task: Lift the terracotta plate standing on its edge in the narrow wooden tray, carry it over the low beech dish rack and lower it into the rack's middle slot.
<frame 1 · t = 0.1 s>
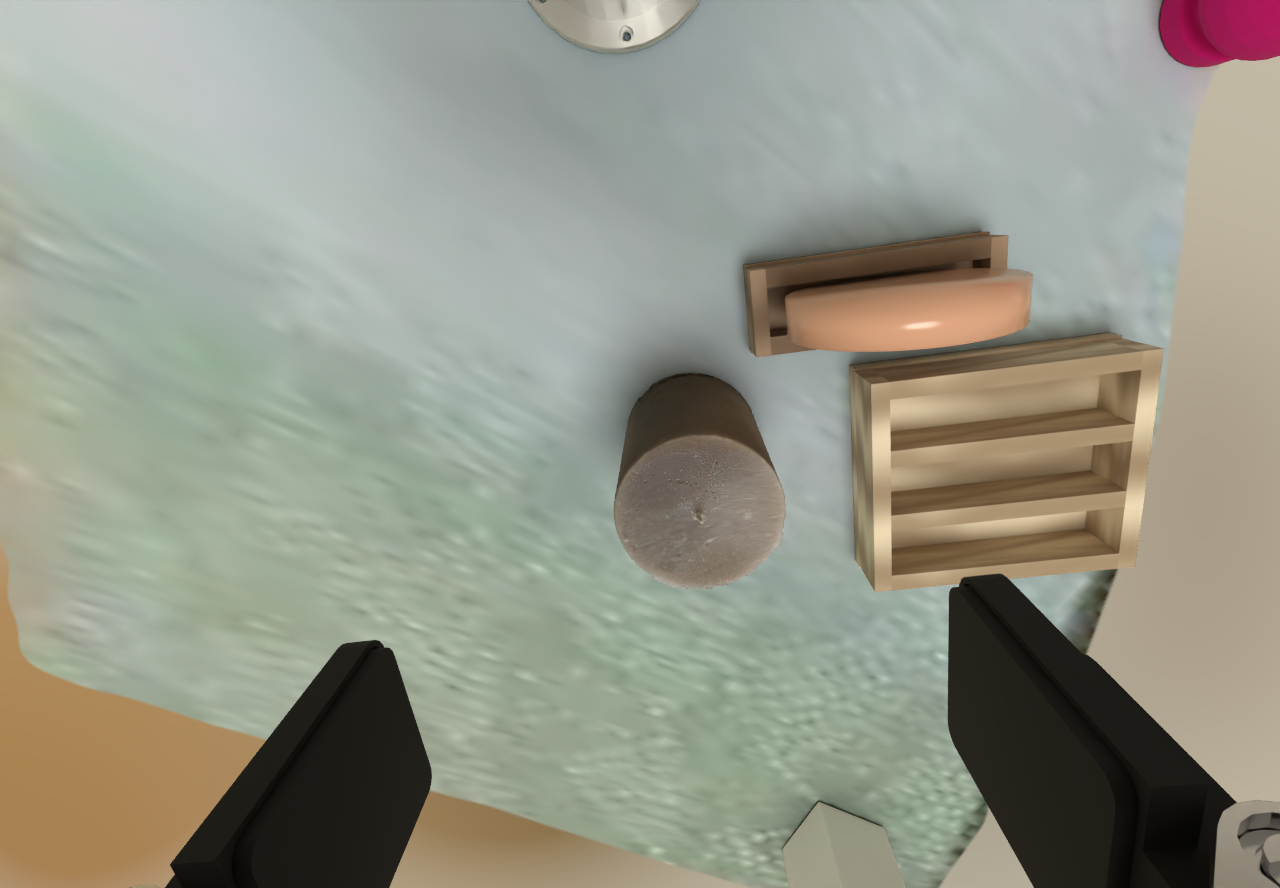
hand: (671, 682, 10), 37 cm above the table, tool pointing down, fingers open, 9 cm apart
rack: (974, 454, 47), on the table
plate: (866, 294, 43), point 1 cm above the table, touching narrow wooden tray
narrow wooden tray: (861, 293, 44), on the table
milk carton: (831, 835, 60), on the table
pillar candle: (690, 436, 48), on the table
pepper mill: (1210, 9, 38), on the table
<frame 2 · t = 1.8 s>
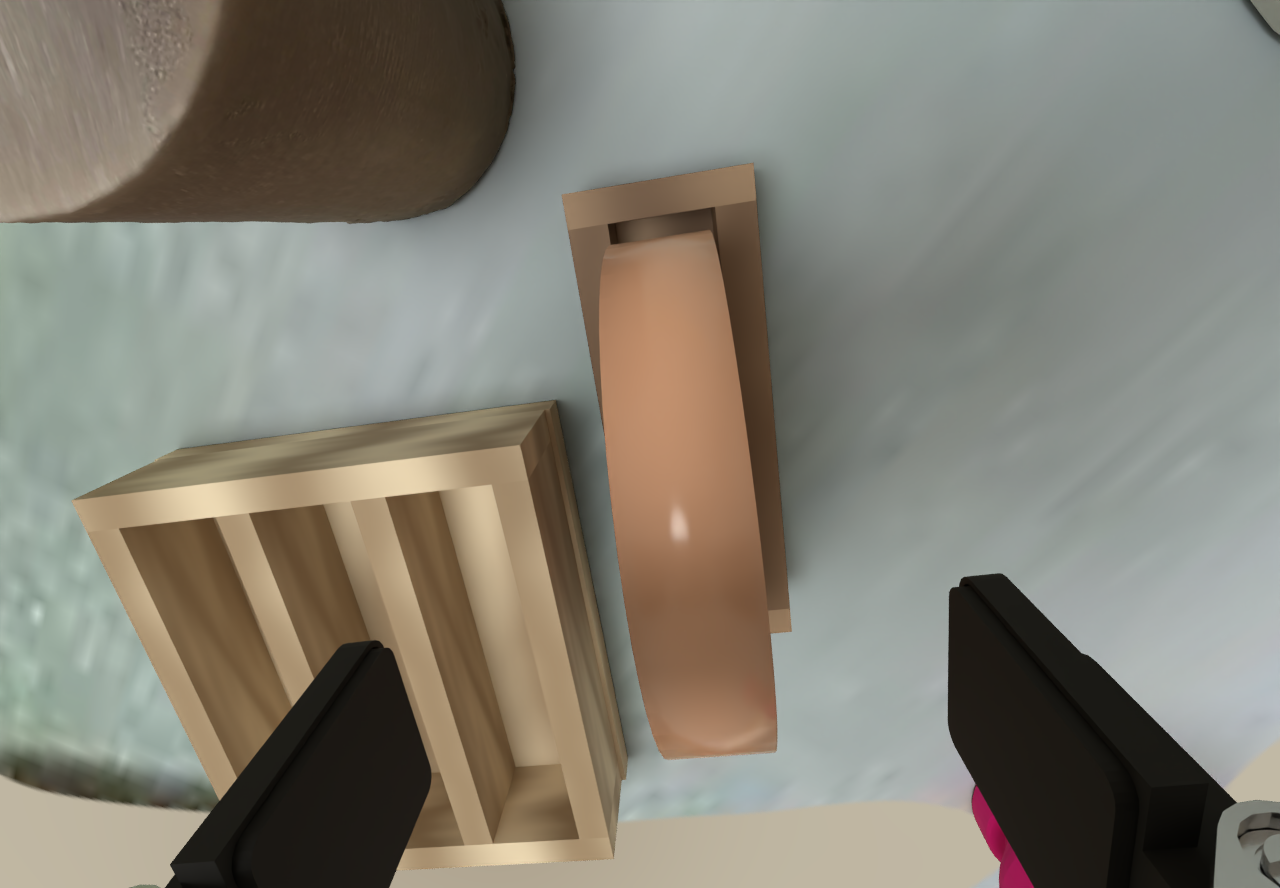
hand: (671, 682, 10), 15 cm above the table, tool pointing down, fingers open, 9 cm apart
rack: (419, 615, 28), on the table
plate: (688, 416, 23), point 1 cm above the table, touching narrow wooden tray
narrow wooden tray: (688, 408, 24), on the table
pillar candle: (370, 68, 21), on the table
pepper mill: (1037, 792, 30), on the table
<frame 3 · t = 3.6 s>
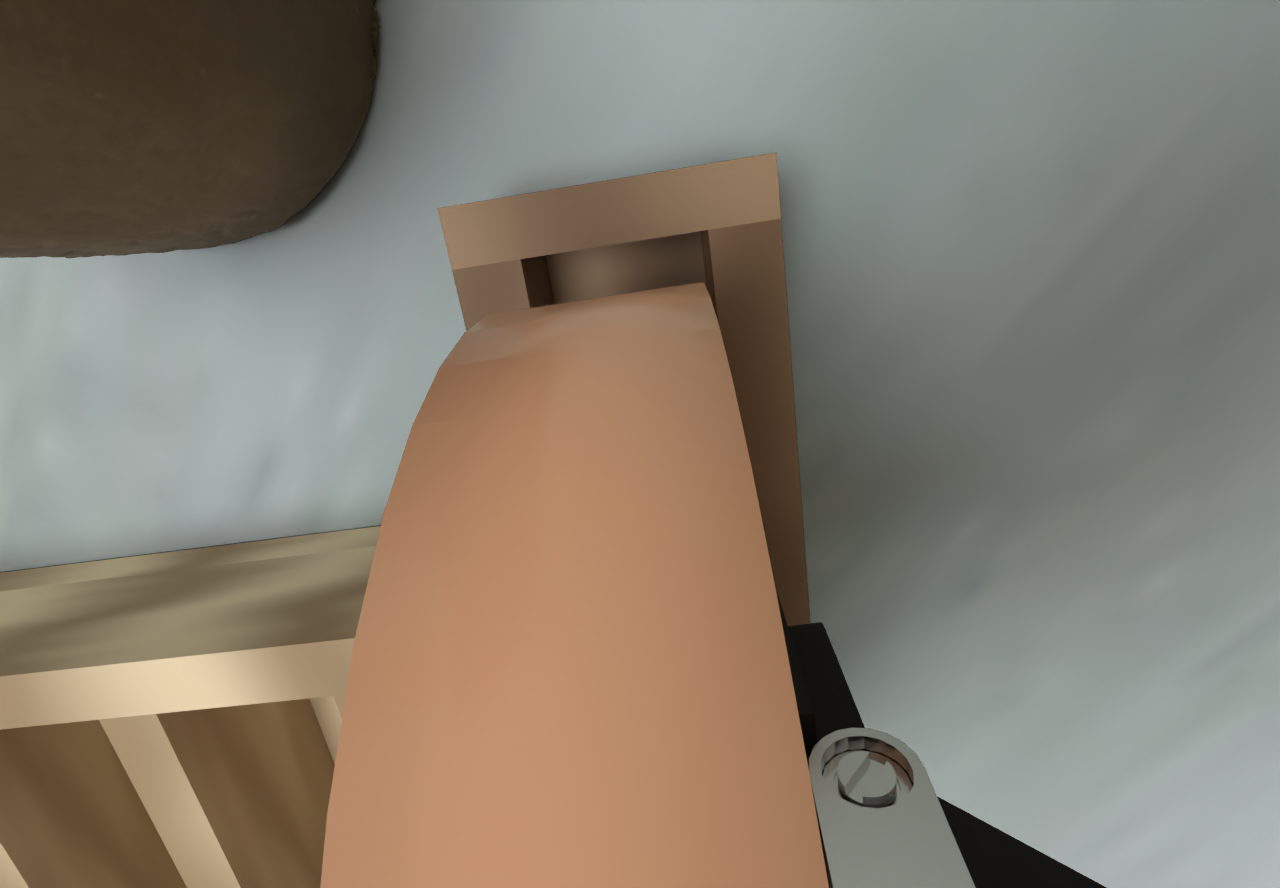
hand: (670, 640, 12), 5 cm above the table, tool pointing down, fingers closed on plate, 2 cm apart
rack: (287, 806, 20), on the table
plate: (668, 545, 15), point 1 cm above the table, touching gripper
narrow wooden tray: (667, 527, 16), on the table
pillar candle: (145, 3, 13), on the table
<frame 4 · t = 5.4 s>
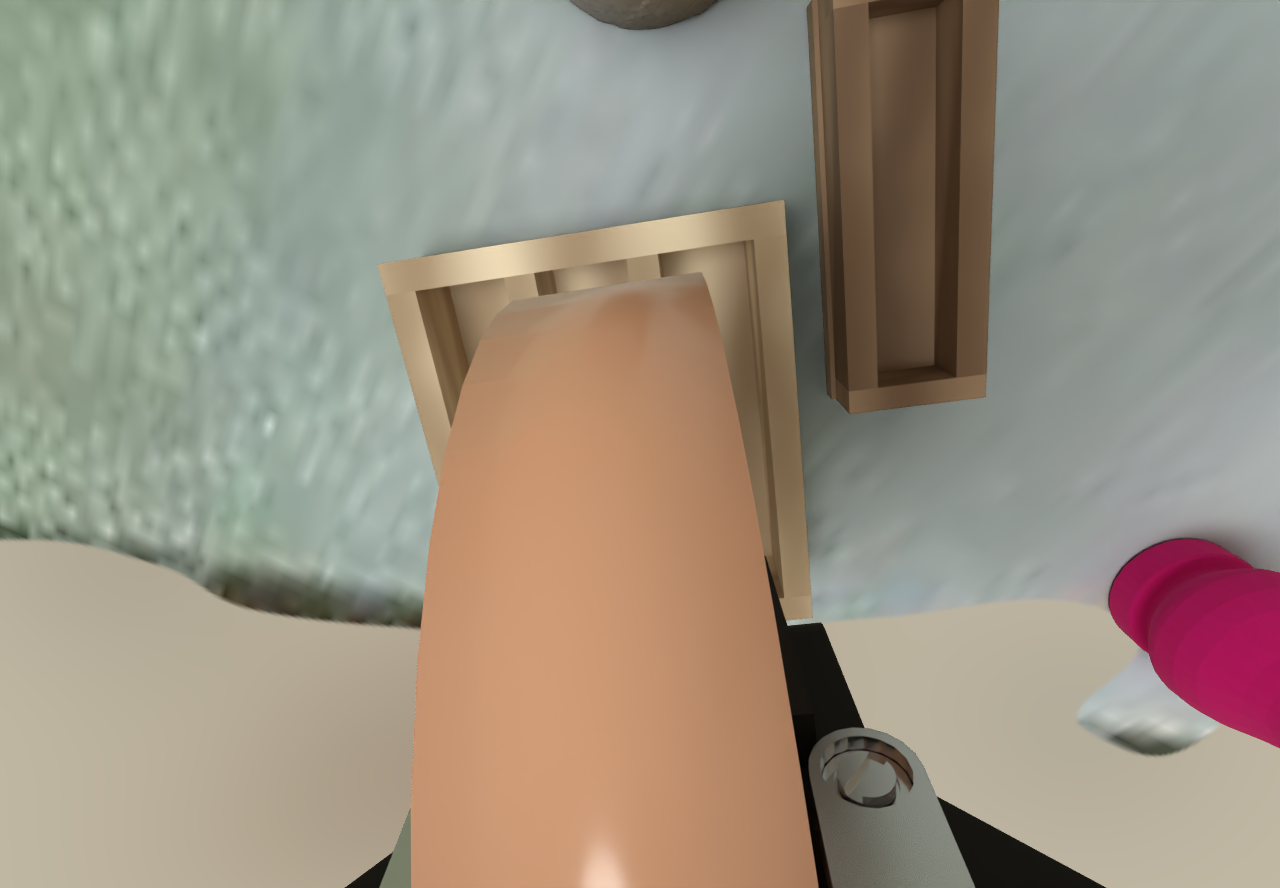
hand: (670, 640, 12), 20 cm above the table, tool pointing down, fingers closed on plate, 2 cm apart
rack: (622, 419, 31), on the table
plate: (669, 521, 16), point 15 cm above the table, touching gripper
narrow wooden tray: (888, 208, 27), on the table
pepper mill: (1168, 588, 33), on the table
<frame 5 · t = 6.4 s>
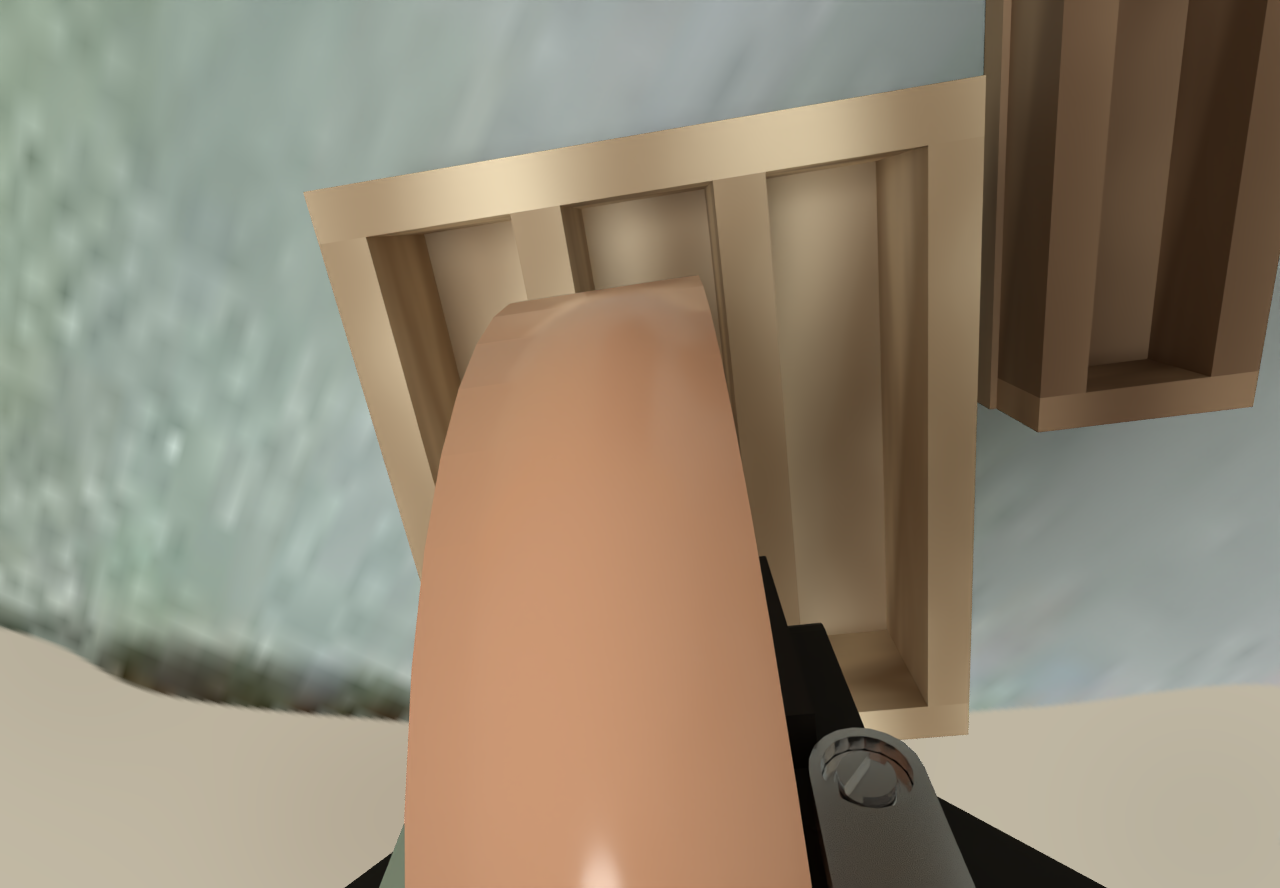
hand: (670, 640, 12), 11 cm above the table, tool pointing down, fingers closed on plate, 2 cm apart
rack: (676, 438, 22), on the table
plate: (668, 523, 16), point 6 cm above the table, touching gripper
narrow wooden tray: (1090, 120, 18), on the table
when the fingers open (6 cm above the table, at t = 7.4 s): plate stays where it is, resting on rack.
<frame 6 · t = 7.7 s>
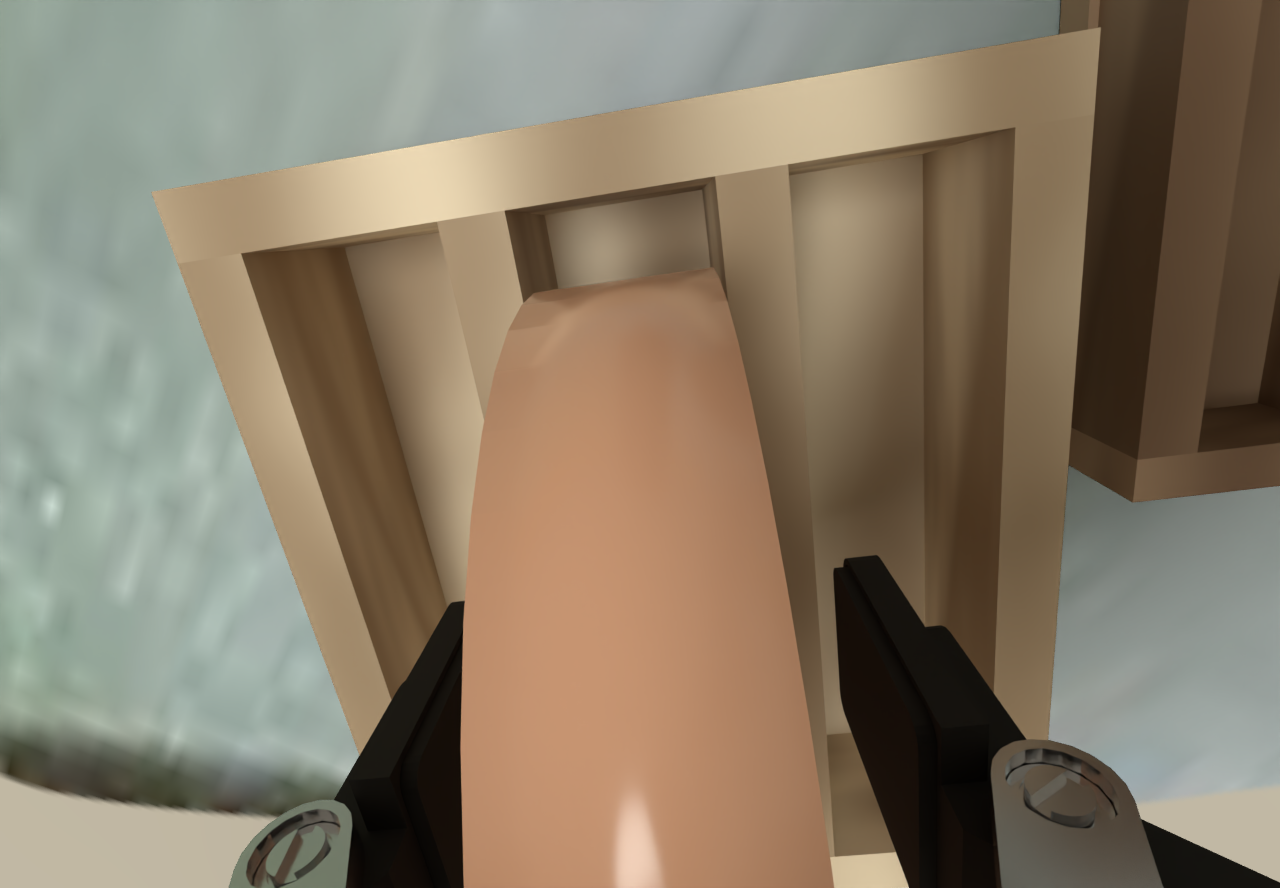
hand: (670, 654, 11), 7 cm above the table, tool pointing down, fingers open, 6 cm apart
rack: (668, 496, 18), on the table
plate: (674, 508, 17), point 1 cm above the table, touching rack
narrow wooden tray: (1192, 103, 14), on the table
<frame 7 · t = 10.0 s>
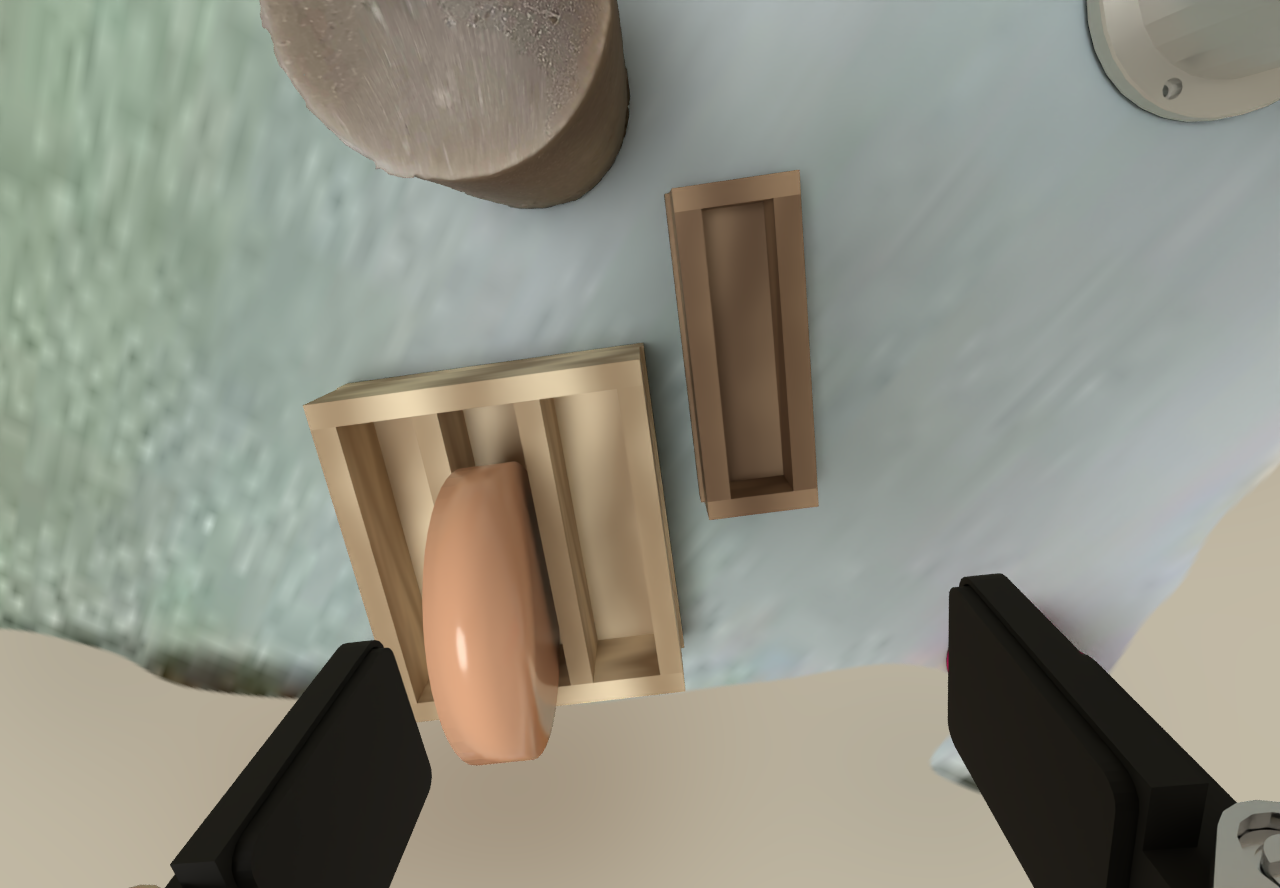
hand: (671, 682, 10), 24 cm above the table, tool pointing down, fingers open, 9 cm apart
rack: (526, 517, 36), on the table
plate: (524, 524, 35), point 1 cm above the table, tilted 10°, touching rack
narrow wooden tray: (739, 348, 33), on the table
pillar candle: (525, 102, 30), on the table
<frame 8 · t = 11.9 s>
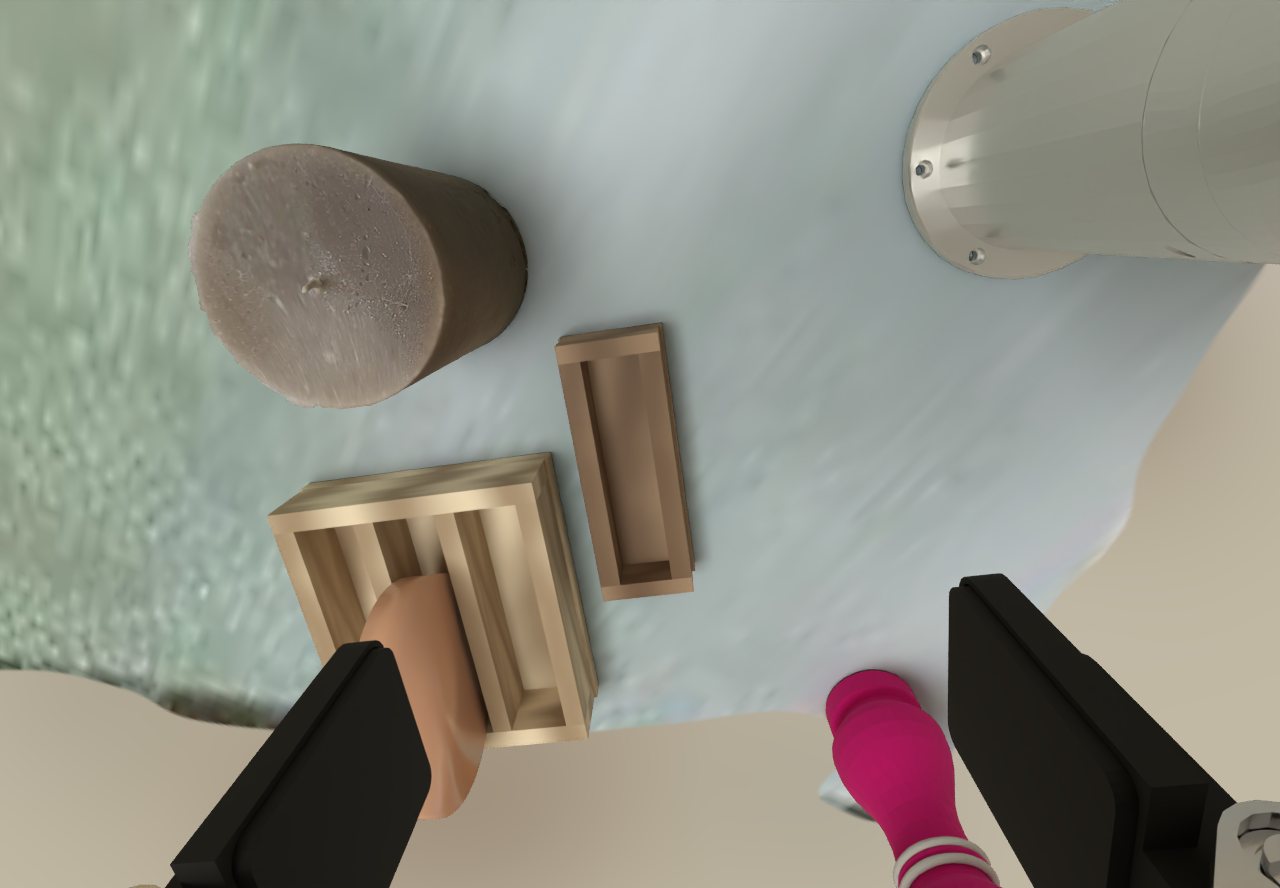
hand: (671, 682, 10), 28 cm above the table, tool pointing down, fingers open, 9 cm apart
rack: (461, 589, 43), on the table
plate: (457, 599, 41), point 2 cm above the table, tilted 18°, touching rack
narrow wooden tray: (631, 456, 39), on the table
pillar candle: (443, 265, 36), on the table
pepper mill: (868, 703, 45), on the table
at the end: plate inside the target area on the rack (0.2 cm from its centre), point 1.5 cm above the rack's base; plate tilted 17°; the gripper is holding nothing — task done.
